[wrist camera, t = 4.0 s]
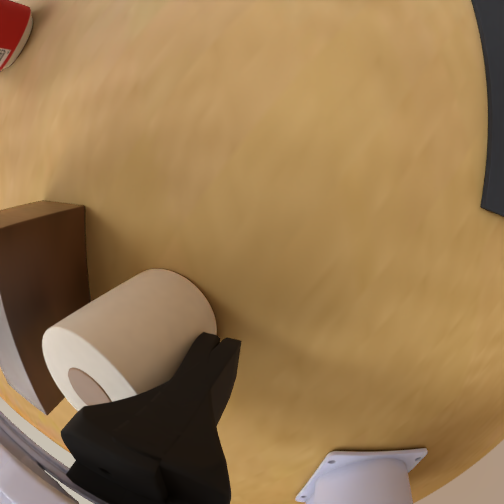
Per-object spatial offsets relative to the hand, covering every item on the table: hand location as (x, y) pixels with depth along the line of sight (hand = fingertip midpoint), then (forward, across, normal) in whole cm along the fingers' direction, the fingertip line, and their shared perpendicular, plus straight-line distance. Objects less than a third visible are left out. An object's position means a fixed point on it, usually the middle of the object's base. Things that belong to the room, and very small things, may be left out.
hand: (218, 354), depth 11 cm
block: (+2, +10, 0) cm, 10 cm away
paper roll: (+2, +5, 0) cm, 5 cm away
